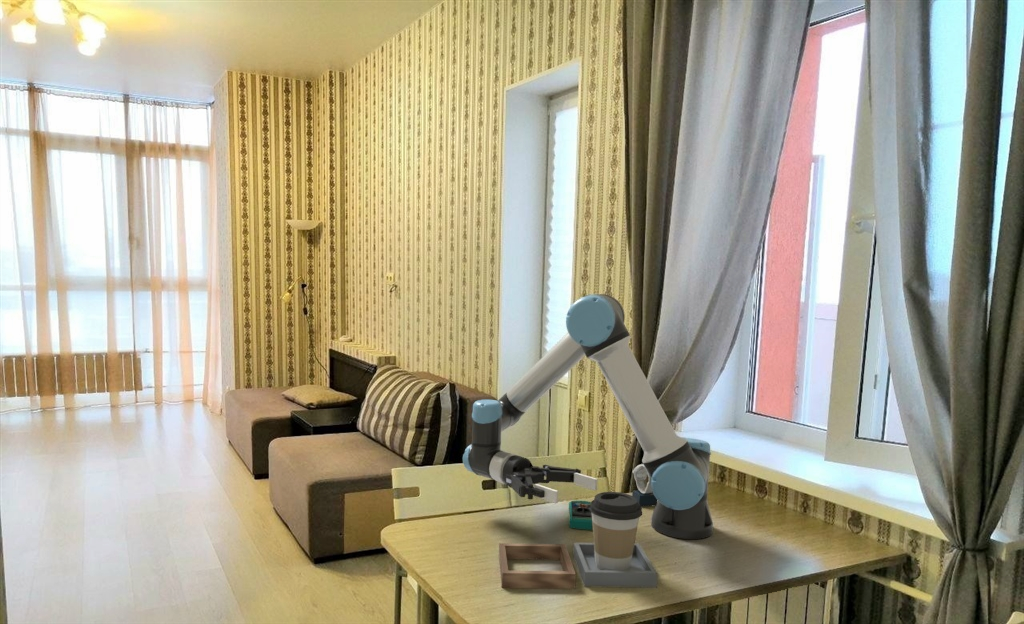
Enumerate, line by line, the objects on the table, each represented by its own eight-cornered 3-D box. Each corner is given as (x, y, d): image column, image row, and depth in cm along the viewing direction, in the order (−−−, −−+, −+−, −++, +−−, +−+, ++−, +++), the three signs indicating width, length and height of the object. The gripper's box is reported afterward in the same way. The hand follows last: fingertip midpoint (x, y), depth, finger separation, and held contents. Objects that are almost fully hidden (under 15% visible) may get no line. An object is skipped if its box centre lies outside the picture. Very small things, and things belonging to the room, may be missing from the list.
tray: (638, 556, 155) (639, 543, 155) (656, 587, 140) (657, 573, 140) (573, 555, 154) (573, 542, 154) (584, 586, 139) (585, 572, 139)
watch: (646, 498, 196) (648, 460, 195) (660, 507, 188) (662, 468, 188) (628, 499, 194) (630, 461, 194) (641, 509, 187) (643, 469, 186)
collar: (564, 557, 153) (565, 544, 153) (574, 588, 138) (575, 574, 138) (498, 556, 152) (499, 543, 152) (501, 587, 137) (502, 573, 137)
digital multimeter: (595, 511, 185) (596, 500, 185) (598, 532, 170) (599, 520, 170) (568, 509, 185) (569, 498, 185) (569, 530, 170) (569, 518, 170)
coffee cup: (614, 552, 155) (618, 487, 154) (650, 571, 146) (654, 502, 145) (575, 561, 149) (578, 494, 148) (609, 583, 139) (613, 511, 139)
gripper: (546, 475, 178) (610, 495, 163) (473, 495, 161) (538, 520, 146) (546, 446, 178) (611, 464, 163) (474, 463, 161) (539, 485, 145)
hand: (577, 490), depth 154 cm, fingers open, 13 cm apart
